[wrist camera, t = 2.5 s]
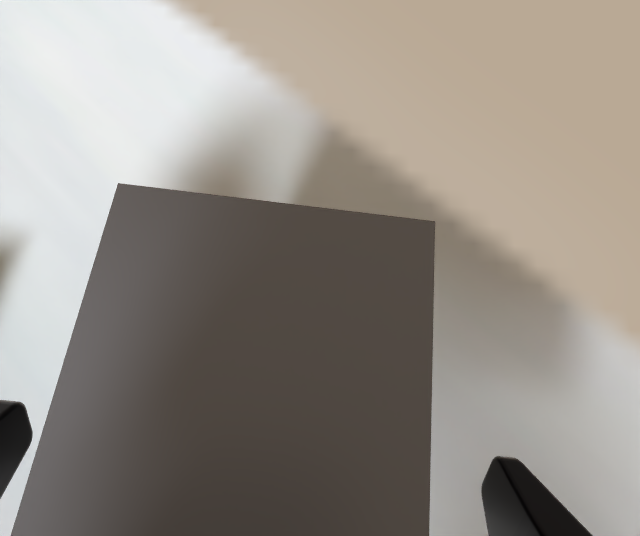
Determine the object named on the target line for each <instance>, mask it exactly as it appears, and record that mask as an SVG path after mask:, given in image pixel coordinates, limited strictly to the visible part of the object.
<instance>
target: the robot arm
mask: <svg viewBox="0 0 640 536" xmlns="http://www.w3.org/2000/svg"><path fill="white" fill-rule="evenodd" d="M32 434H33V432H32V428H31V424H30V421H29V417H28V414H27V410H26V407H25V405H24V404H23V403H21V402H16V401H7V400H0V499H1V497H2V495H3V493H4V491H5V489H6V488H7V486H8V484H9V482H10V480H11V479H12V477H13V475H14V473H15V471H16V470H17V468H18V466H19V464H20V462H21V461H22V459H23V457H24V455H25V453H26V451H27V450H28V448H29V446H30V444H31V441H32ZM481 492H482V500H483V506H484V512H485V517H486V523H487V529H488V534H489V536H592V535H591V534H590V533H589V532H588V530H587V529H586V528H585V527H584V526H583V525H582V524H581V523H580V522H579V521H578V520H577V519H576V518H575V517H574V516H573V515H572V514H571V513H570V512H569V511H568V510H567V509H566V508H565V507H564V506H563V505H562V504H561V503H560V502H559V500H558V499H557V498H556V497H555V496H554V495H553V494H552V493H551V492H550V491H549V490H548V489H547V488H546V487H545V486H544V485H543V484H542V483H541V482H540V481H539V480H538V479H537V478H536V477H535V476H534V475H533V474H532V473H531V472H530V470H529V469H528V468H527V467H526V466H525V465H524V464H523V463H522V462H521V461H519V460H518V459H516V458H511V457H502V456H496V457H495V458H494V459H493V460H492V462H491V465H490V467H489V469H488V471H487V474H486V476H485V478H484V480H483V483H482V490H481Z"/></svg>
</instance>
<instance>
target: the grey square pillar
mask: <svg viewBox="0 0 640 536" xmlns="http://www.w3.org/2000/svg"><path fill="white" fill-rule="evenodd" d="M434 242H435V221H427V220H418V219H410V218H402V217H393V216H385V215H377V214H368V213H360V212H352V211H344V210H335V209H327V208H319V207H310V206H302V205H294V204H286V203H277V202H269V201H261V200H252V199H244V198H236V197H227V196H219V195H211V194H203V193H194V192H186V191H178V190H169V189H161V188H153V187H144V186H136V185H128V184H120V183H118V185H117V189H116V192H115V195H114V199H113V202H112V205H111V208H110V212H109V215H108V218H107V222H106V225H105V228H104V231H103V235H102V238H101V241H100V245H99V248H98V251H97V254H96V258H95V261H94V264H93V267H92V271H91V274H90V277H89V281H88V284H87V287H86V290H85V294H84V297H83V300H82V304H81V307H80V310H79V313H78V317H77V320H76V323H75V327H74V330H73V333H72V336H71V340H70V343H69V346H68V349H67V353H66V356H65V359H64V363H63V366H62V369H61V372H60V376H59V379H58V382H57V386H56V389H55V392H54V395H53V399H52V402H51V405H50V409H49V412H48V415H47V418H46V422H45V425H44V428H43V432H42V435H41V438H40V441H39V445H38V448H37V451H36V454H35V458H34V461H33V464H32V468H31V471H30V474H29V477H28V481H27V484H26V487H25V491H24V494H23V497H22V500H21V504H20V507H19V510H18V514H17V517H16V520H15V523H14V527H13V530H12V533H11V536H429V510H430V456H431V403H432V349H433V296H434Z"/></svg>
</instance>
